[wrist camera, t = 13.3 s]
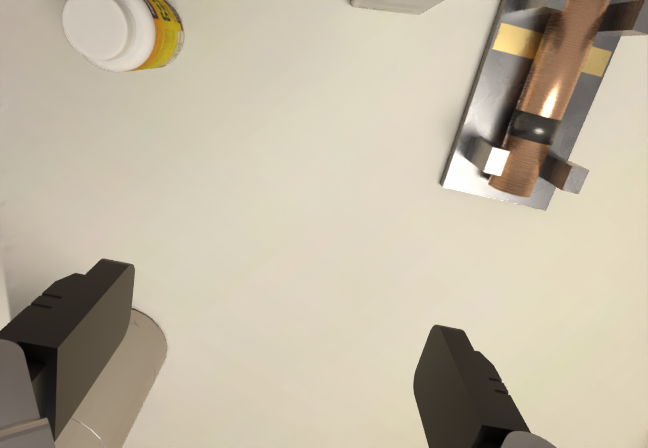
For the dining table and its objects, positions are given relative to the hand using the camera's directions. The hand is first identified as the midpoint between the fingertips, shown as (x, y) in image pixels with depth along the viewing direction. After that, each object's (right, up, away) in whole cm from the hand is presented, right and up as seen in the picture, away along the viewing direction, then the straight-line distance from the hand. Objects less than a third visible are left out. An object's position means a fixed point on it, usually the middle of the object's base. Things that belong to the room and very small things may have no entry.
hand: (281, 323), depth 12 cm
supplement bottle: (-13, +18, +25) cm, 34 cm away
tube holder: (+19, +14, +27) cm, 36 cm away
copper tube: (+19, +14, +26) cm, 35 cm away
